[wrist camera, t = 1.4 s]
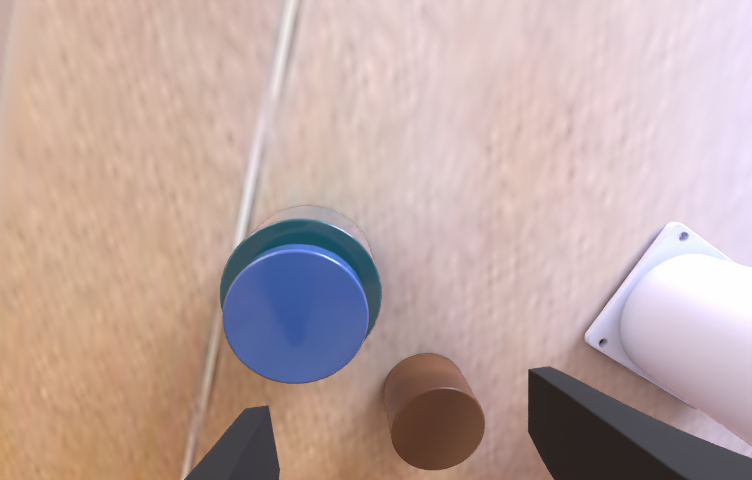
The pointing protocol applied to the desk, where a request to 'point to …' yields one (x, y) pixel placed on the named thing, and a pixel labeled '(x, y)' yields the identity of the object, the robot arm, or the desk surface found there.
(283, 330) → the ink bottle
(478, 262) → the desk surface
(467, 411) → the brown short cylinder
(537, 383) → the robot arm
